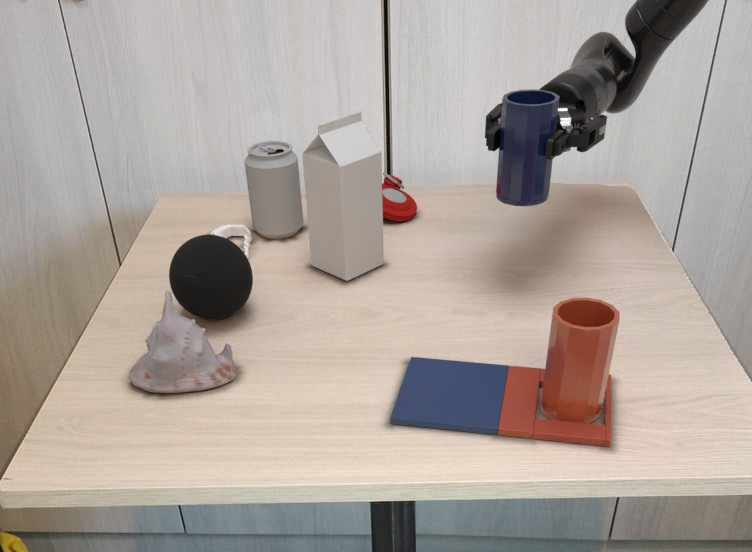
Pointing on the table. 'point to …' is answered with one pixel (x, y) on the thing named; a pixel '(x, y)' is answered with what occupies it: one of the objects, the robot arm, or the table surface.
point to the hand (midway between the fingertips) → (519, 146)
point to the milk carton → (344, 198)
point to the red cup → (578, 359)
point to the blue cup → (525, 146)
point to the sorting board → (486, 402)
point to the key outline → (235, 234)
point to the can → (274, 189)
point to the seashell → (180, 357)
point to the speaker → (210, 277)
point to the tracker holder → (396, 200)
